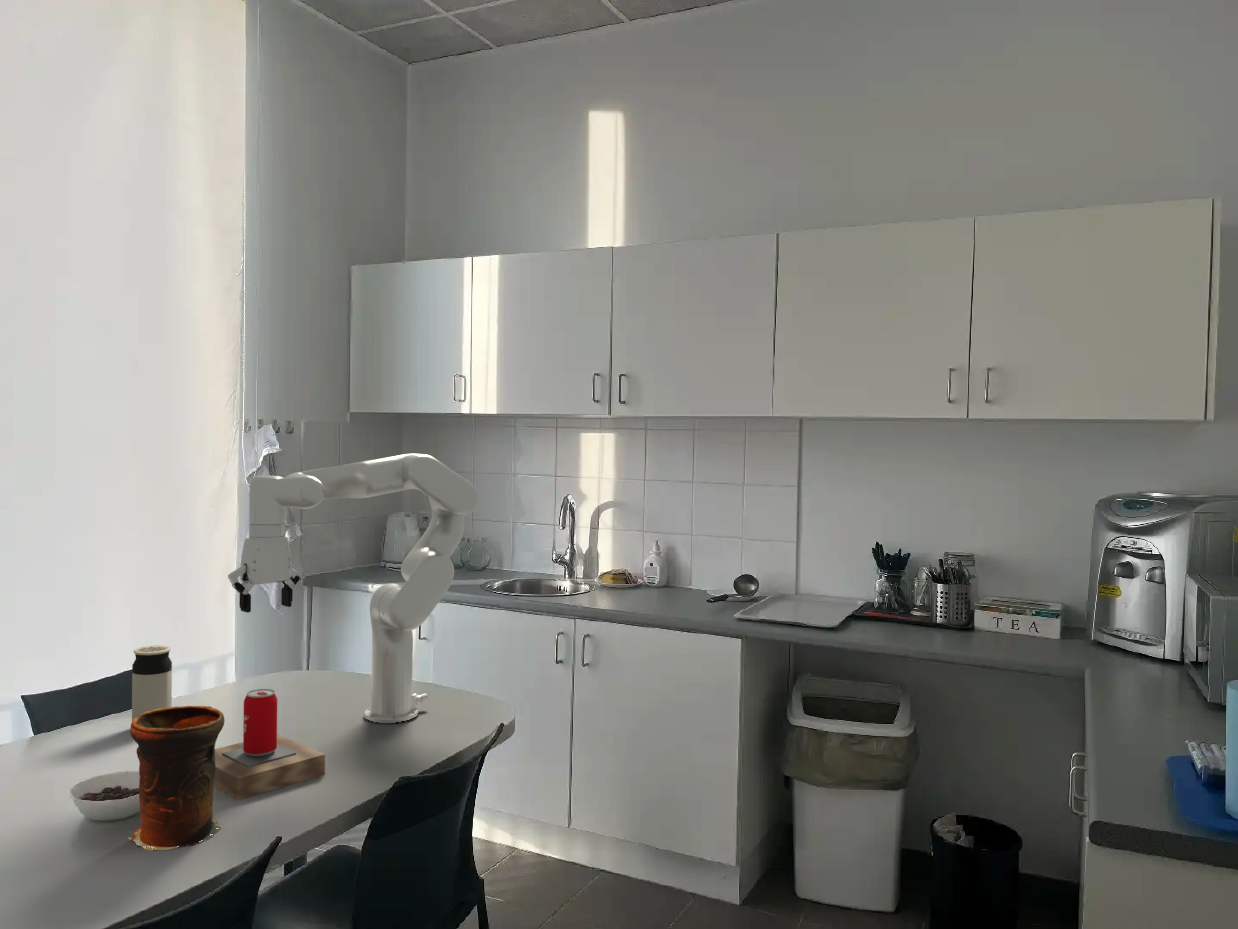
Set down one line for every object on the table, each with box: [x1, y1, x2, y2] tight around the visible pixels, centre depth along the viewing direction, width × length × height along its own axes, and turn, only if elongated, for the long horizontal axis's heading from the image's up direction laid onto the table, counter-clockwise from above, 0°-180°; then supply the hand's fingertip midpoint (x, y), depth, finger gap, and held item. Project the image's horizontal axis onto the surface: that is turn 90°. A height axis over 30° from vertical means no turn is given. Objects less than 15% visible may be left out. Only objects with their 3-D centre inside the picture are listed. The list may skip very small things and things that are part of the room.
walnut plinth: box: [214, 733, 326, 801], centre depth 187 cm, size 18×18×4 cm
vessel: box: [127, 705, 225, 852], centre depth 160 cm, size 14×14×20 cm
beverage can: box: [242, 688, 278, 756], centre depth 187 cm, size 6×6×12 cm
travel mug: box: [131, 645, 173, 722], centre depth 213 cm, size 8×8×18 cm
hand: (266, 608), depth 210 cm, fingers open, 9 cm apart
